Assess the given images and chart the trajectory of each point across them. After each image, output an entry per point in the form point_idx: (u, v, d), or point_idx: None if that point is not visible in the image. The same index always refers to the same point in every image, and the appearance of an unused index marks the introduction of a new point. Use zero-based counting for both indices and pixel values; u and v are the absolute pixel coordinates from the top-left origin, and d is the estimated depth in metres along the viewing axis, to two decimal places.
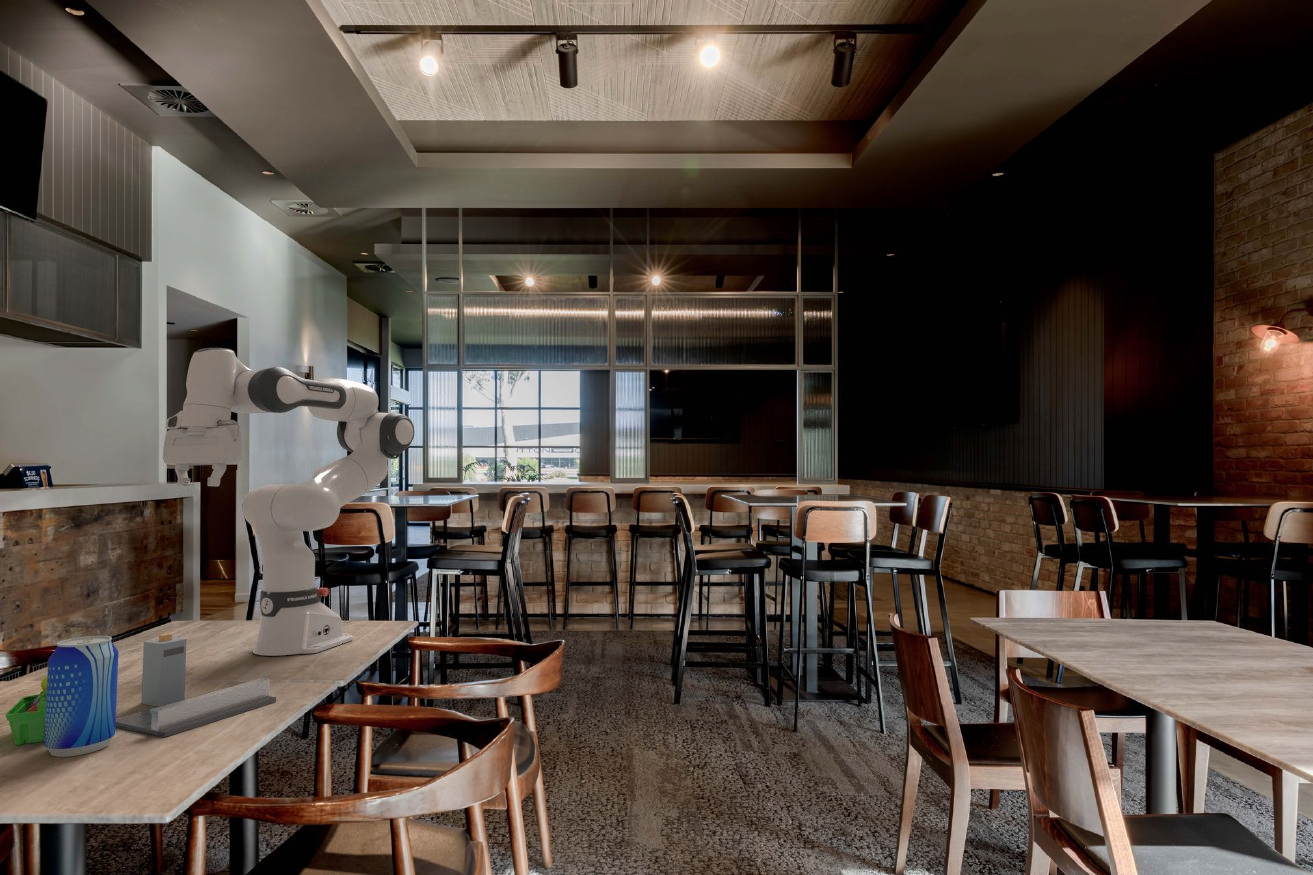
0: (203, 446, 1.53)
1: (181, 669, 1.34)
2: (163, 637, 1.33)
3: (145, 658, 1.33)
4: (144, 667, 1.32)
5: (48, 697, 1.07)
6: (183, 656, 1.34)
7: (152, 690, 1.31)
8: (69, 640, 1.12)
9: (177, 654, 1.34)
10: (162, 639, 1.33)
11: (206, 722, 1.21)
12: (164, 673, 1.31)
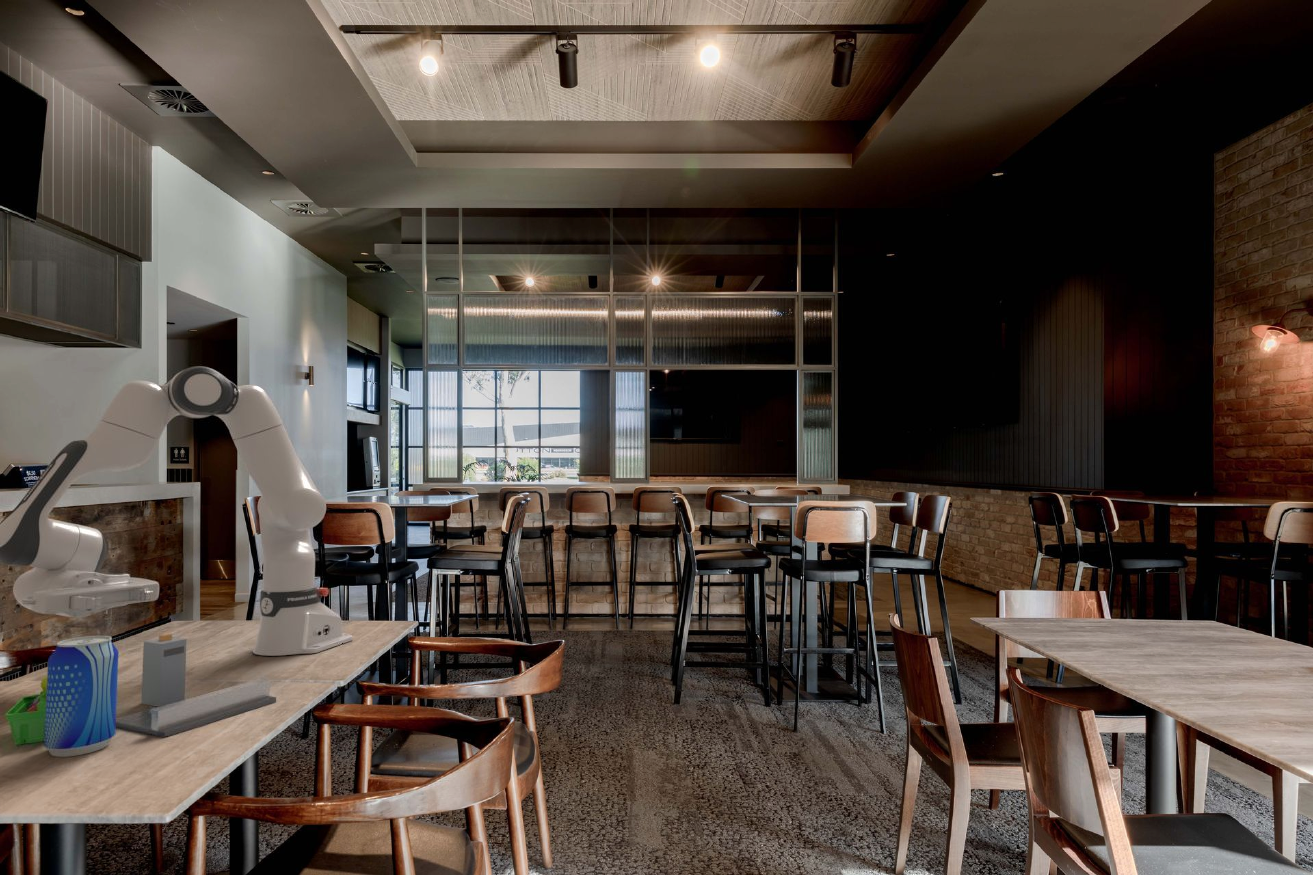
0: None
1: (181, 669, 1.34)
2: (163, 637, 1.33)
3: (145, 658, 1.33)
4: (144, 667, 1.32)
5: (48, 697, 1.07)
6: (183, 656, 1.34)
7: (152, 689, 1.31)
8: (69, 640, 1.12)
9: (177, 654, 1.34)
10: (162, 639, 1.33)
11: (206, 722, 1.21)
12: (164, 673, 1.31)
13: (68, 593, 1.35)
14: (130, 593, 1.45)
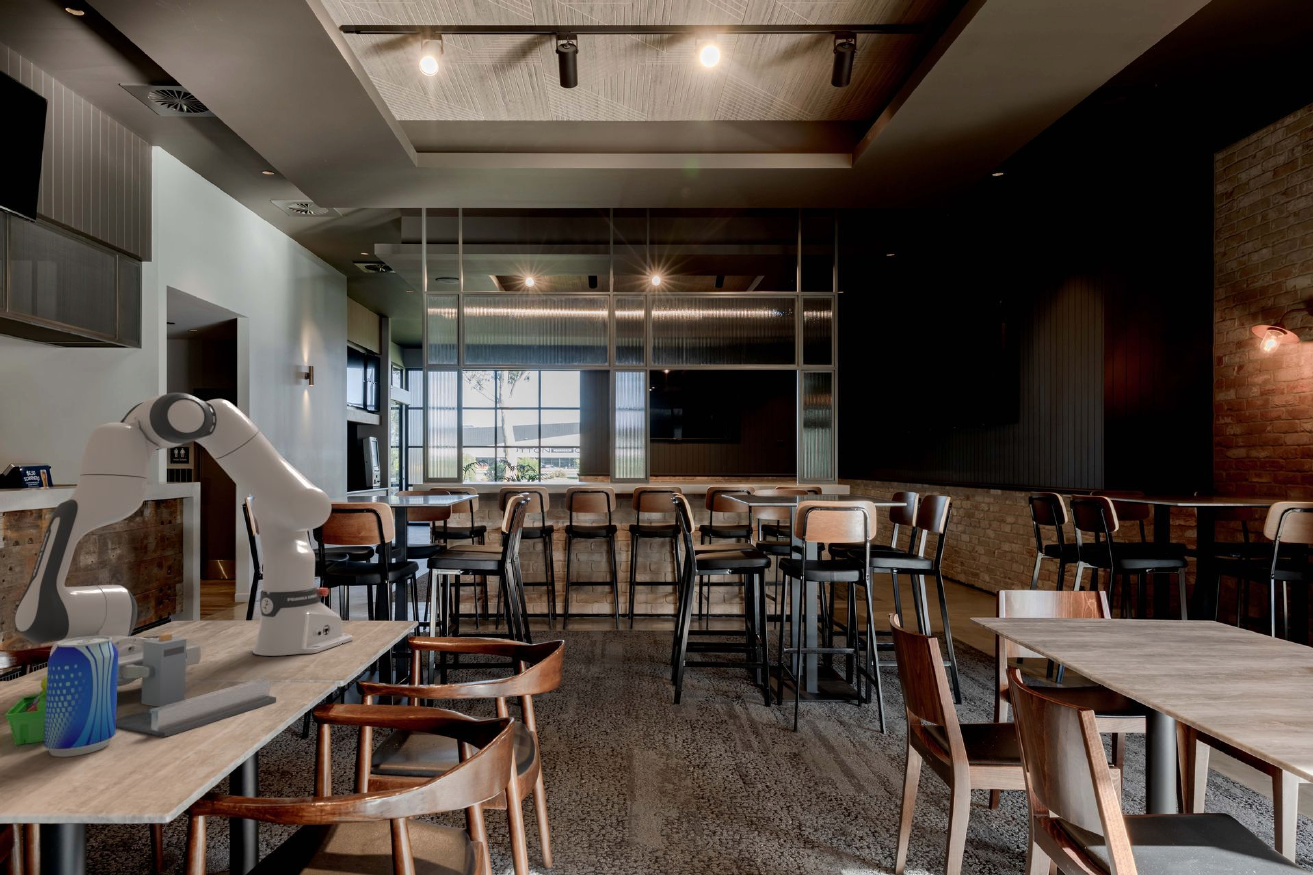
0: None
1: (181, 669, 1.34)
2: (163, 637, 1.33)
3: (145, 658, 1.33)
4: None
5: (48, 697, 1.07)
6: (183, 656, 1.34)
7: (152, 689, 1.31)
8: (69, 640, 1.12)
9: (177, 654, 1.34)
10: (162, 639, 1.33)
11: (206, 722, 1.21)
12: (164, 673, 1.31)
13: None
14: None
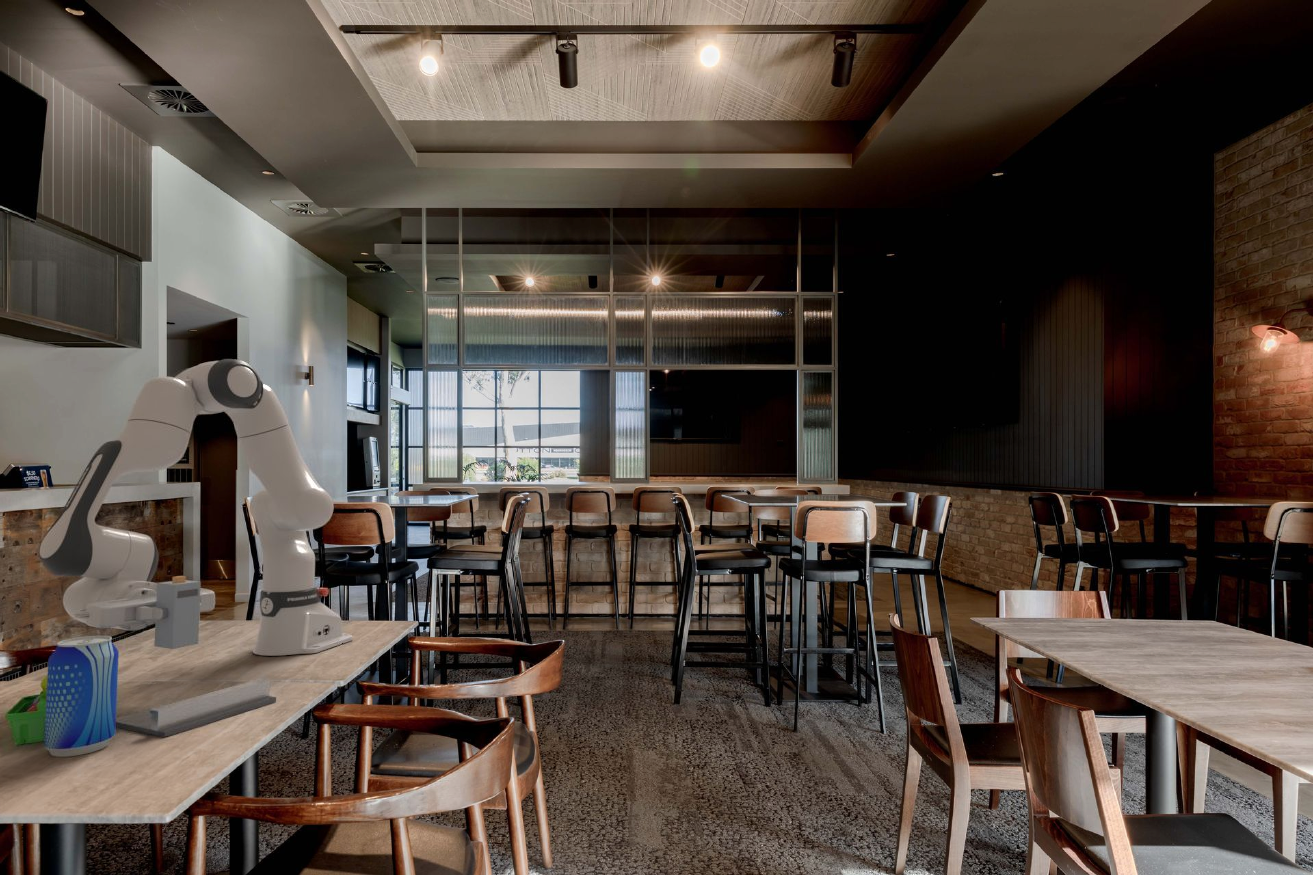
0: None
1: (195, 612, 1.31)
2: (177, 579, 1.30)
3: (158, 600, 1.29)
4: None
5: (48, 697, 1.07)
6: (197, 599, 1.31)
7: (166, 632, 1.28)
8: (69, 640, 1.12)
9: (191, 596, 1.30)
10: (176, 581, 1.30)
11: (206, 722, 1.21)
12: (177, 615, 1.28)
13: (123, 605, 1.26)
14: None
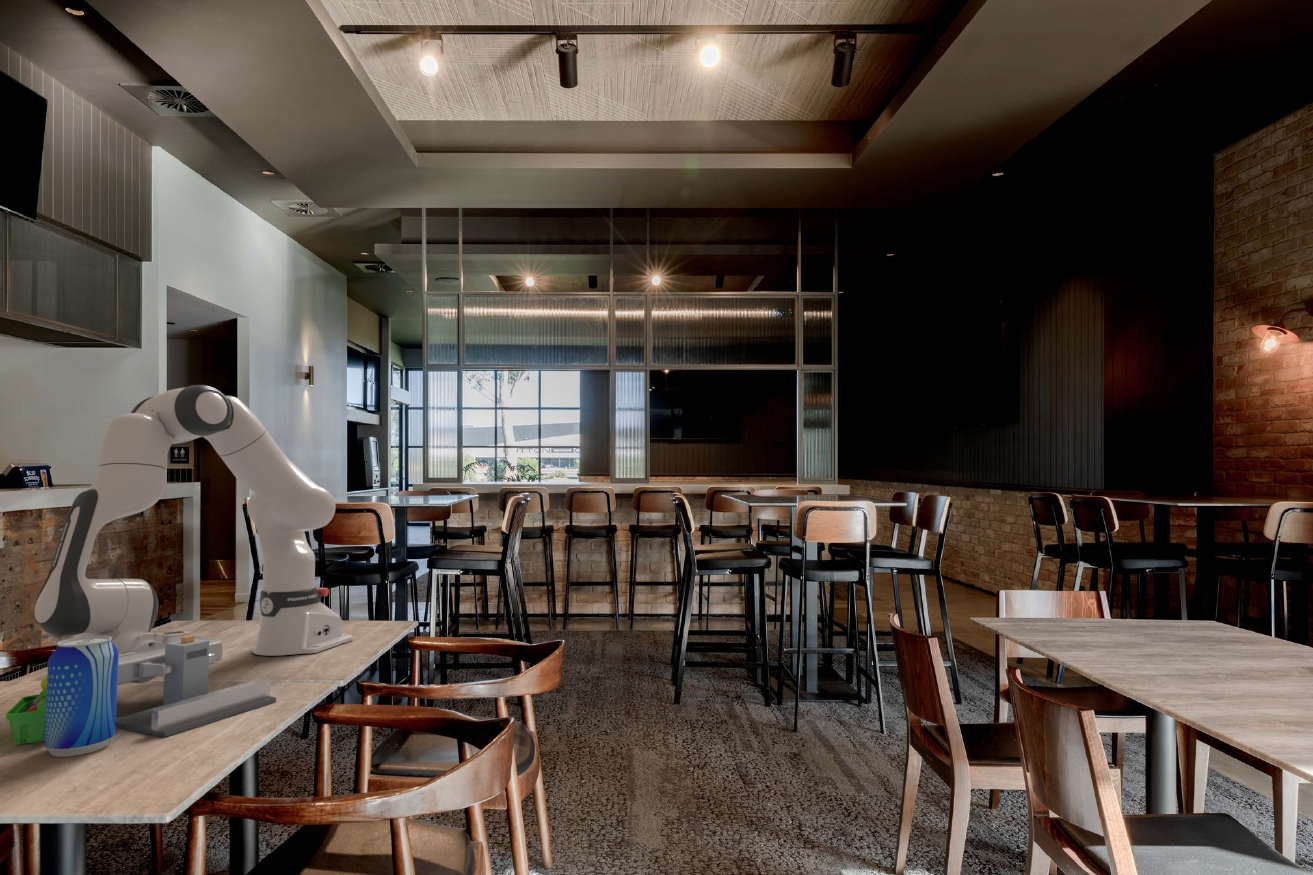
0: None
1: (204, 672, 1.29)
2: (185, 639, 1.28)
3: (167, 661, 1.27)
4: None
5: (48, 697, 1.07)
6: (206, 659, 1.29)
7: (175, 694, 1.26)
8: (69, 640, 1.12)
9: (200, 657, 1.28)
10: (184, 641, 1.28)
11: (206, 722, 1.21)
12: (186, 677, 1.26)
13: (131, 661, 1.24)
14: None
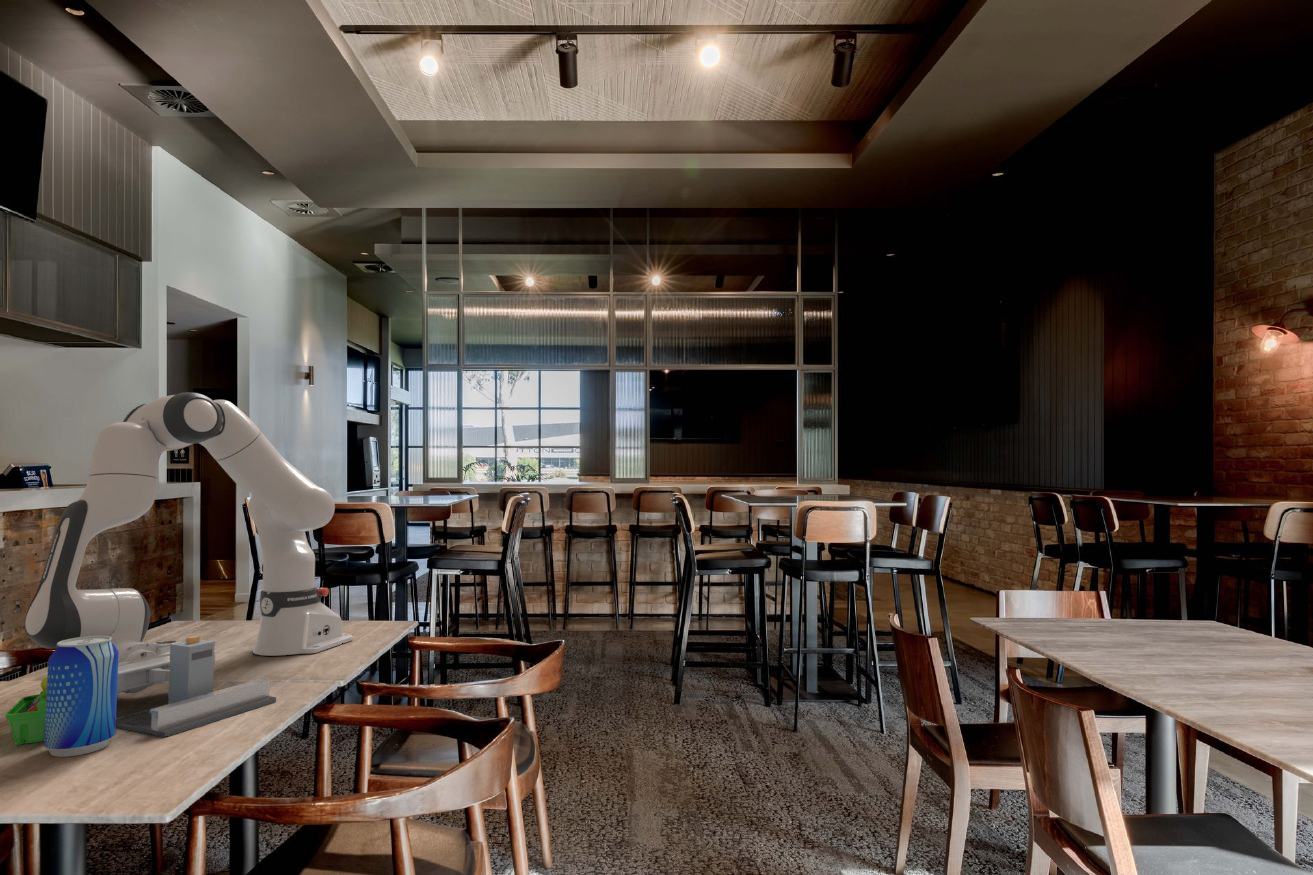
0: None
1: (209, 673, 1.28)
2: (191, 640, 1.27)
3: (172, 662, 1.27)
4: (171, 671, 1.27)
5: (48, 697, 1.07)
6: (211, 659, 1.29)
7: (180, 695, 1.25)
8: (69, 640, 1.12)
9: (205, 658, 1.28)
10: (189, 642, 1.27)
11: (206, 722, 1.21)
12: (192, 678, 1.25)
13: (122, 672, 1.24)
14: (163, 670, 1.31)
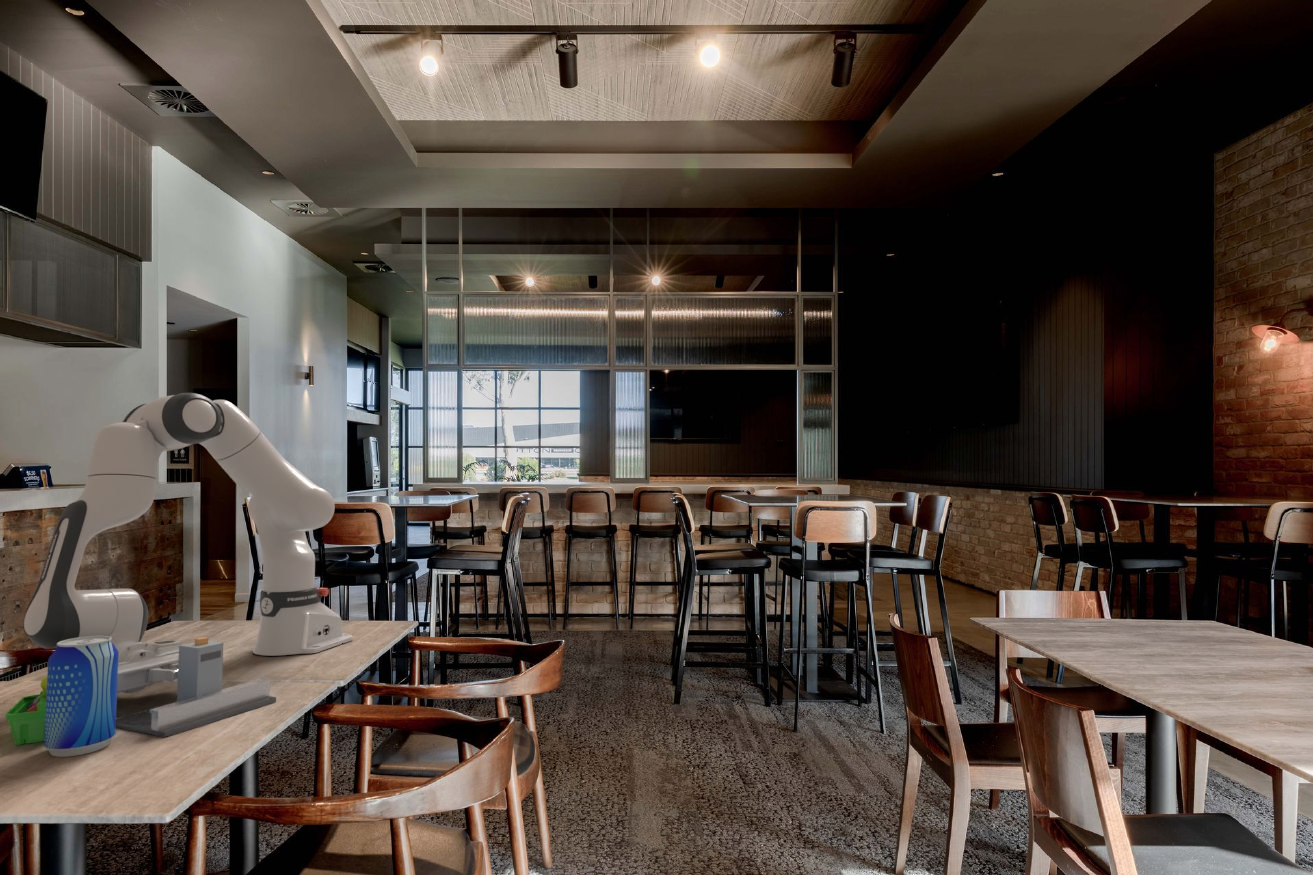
0: None
1: (218, 674, 1.27)
2: (199, 641, 1.26)
3: (180, 663, 1.26)
4: (179, 672, 1.26)
5: (48, 697, 1.07)
6: (220, 661, 1.28)
7: (189, 696, 1.24)
8: (69, 640, 1.12)
9: (214, 659, 1.27)
10: (198, 643, 1.26)
11: (206, 722, 1.21)
12: (201, 679, 1.24)
13: (122, 671, 1.25)
14: None
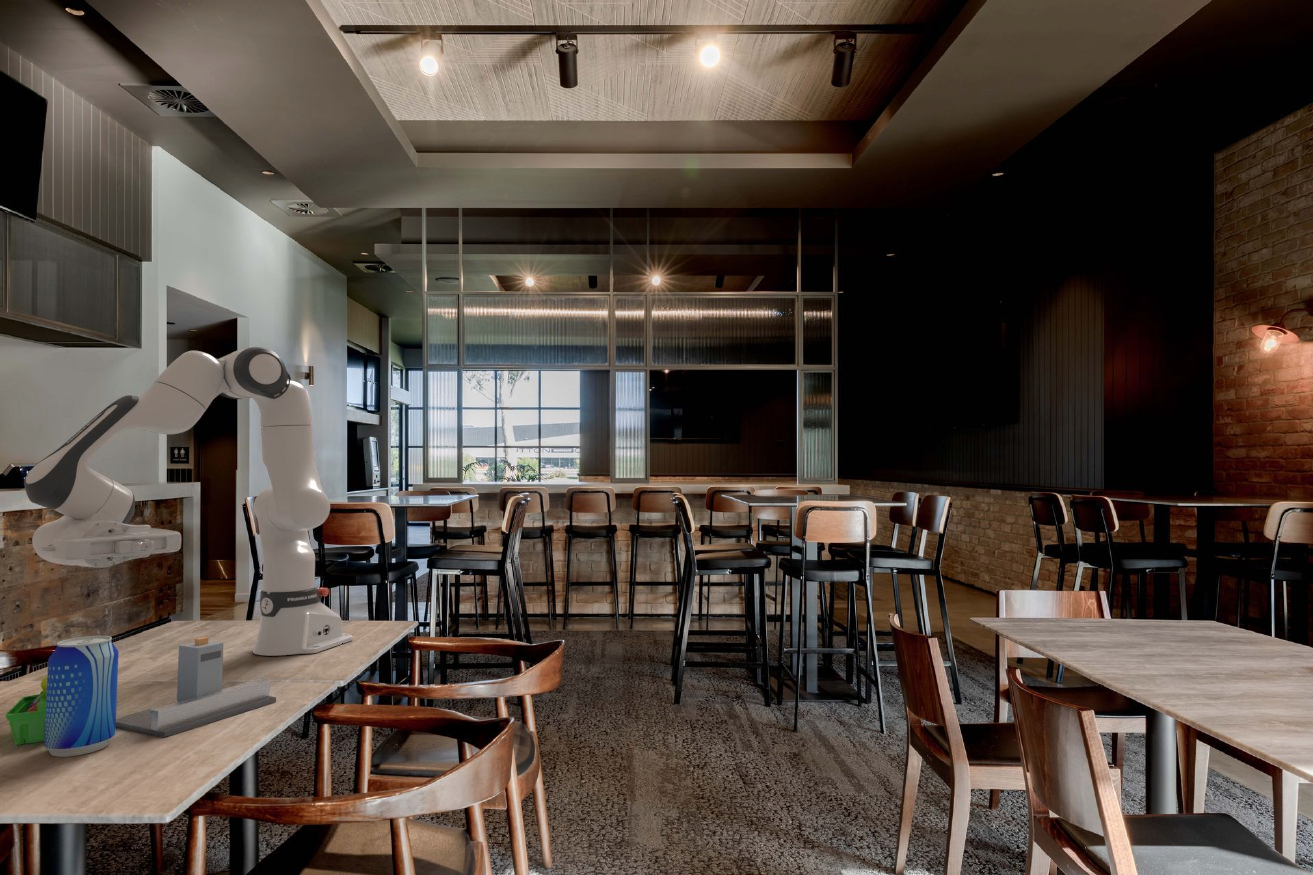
0: None
1: (218, 674, 1.27)
2: (199, 641, 1.26)
3: (180, 663, 1.26)
4: (179, 672, 1.26)
5: (48, 697, 1.07)
6: (220, 661, 1.28)
7: (189, 696, 1.24)
8: (69, 640, 1.12)
9: (214, 659, 1.27)
10: (198, 643, 1.26)
11: (206, 722, 1.21)
12: (201, 679, 1.24)
13: (89, 539, 1.30)
14: None
